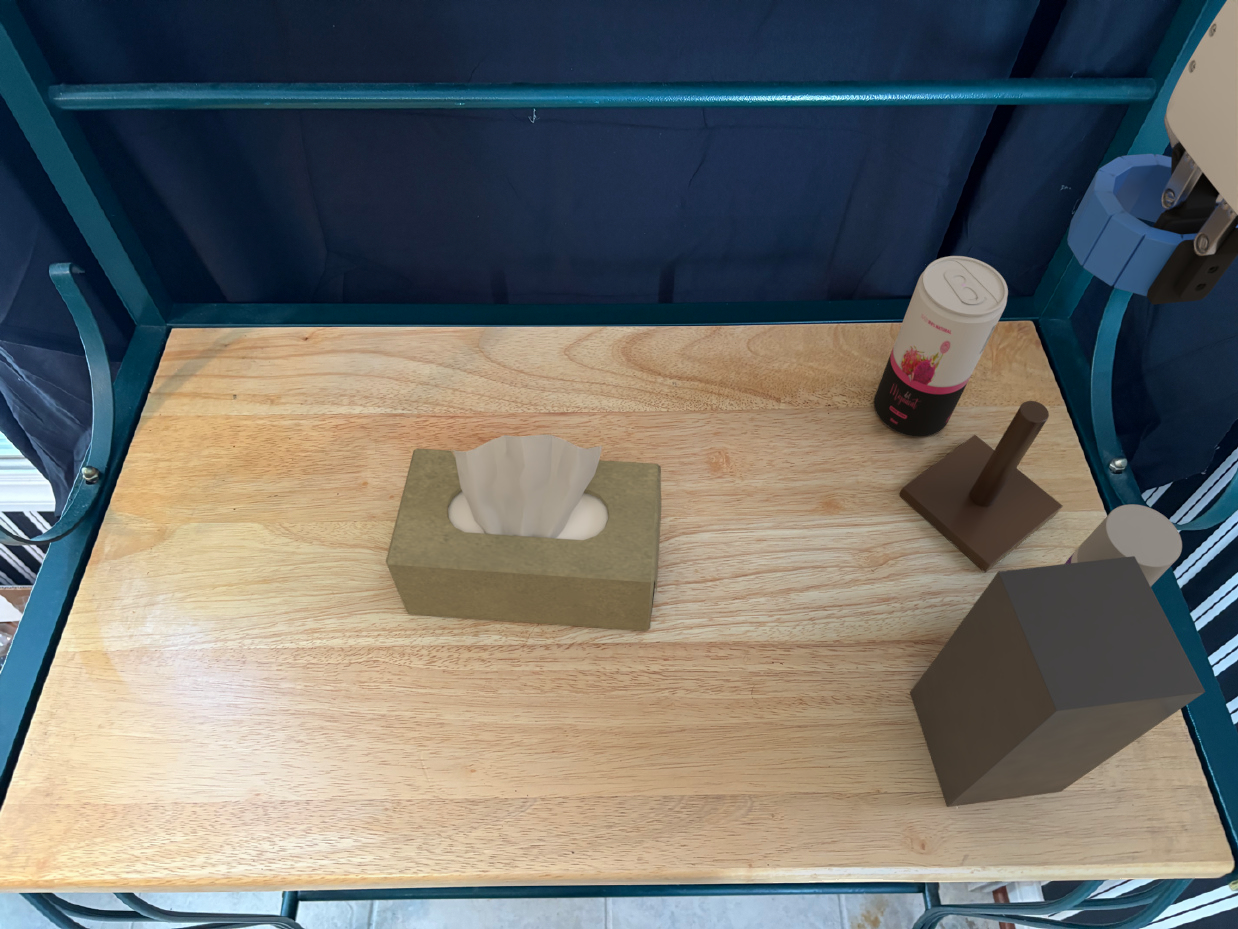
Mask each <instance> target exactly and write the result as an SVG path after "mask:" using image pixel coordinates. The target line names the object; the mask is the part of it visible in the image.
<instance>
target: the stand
mask: <svg viewBox="0 0 1238 929" xmlns="http://www.w3.org/2000/svg"><path fill="white" fill-rule="evenodd" d="M1049 416H1050V414H1049V410H1048V408H1047V407H1046V406H1045V405H1044V404H1042V403H1041V402H1038V401H1036V400H1026V401H1024V402H1022V403H1021V404H1020V407H1018V409H1017V411H1016V413H1015V414H1014V416H1013V418H1012V419H1011V421H1010V423H1009V424H1008V426H1007V428H1006V429H1005V431H1004V433H1003V434H1002V436H1001V438H1000V440H999V442H998V443H997V445H996V446H995V448H993V447H991V446H990V445H989V444H987V443H986V442H985V441H984V440H982V439H981V438H980V437H979V436H978V435H977V434H973V435H972V436H971V437H969V438H968V439H967V440H965V441H964V442H962V443H961V444H960V445H958V446H957V447H955V448H954V449H953V450H951V451H950V452H948V453H947V454H945V456H943V457H942V458H940V459H939V460H937V461H936V462H935V463H933V465H931V466H930V467H928V468H927V469H925V470H924V471H923V472H922V473H920V474H919V475H918V476H915V478H913V479H912V480H911V481H910V482H908V483H906V484H905V485H904V486H902V487H901V490H900V492H899V494H898V496H899V498H901V499H902V500H903V501H904V502H906V504H908V505H909V506H910V507H911V508H912V509H913V510H914V511H916V512H917V513H918V514H919V515H920V516H921V517H922V518H923V519H924V520H925V521H927V522H928V524H930V525H931V526H932V527H933V528H935V530H937V532H939V533H940V534H941V535H942V536H944V537H945V539H947V540H948V541H949V542H950V543H951V544H952V545H953V546H955V547H956V548H957V549H958V550H959V551H960V552H961V553H963V554H964V555H965V556H966V557H967V558H968V559H969V560H970V561H972V563H974V564H975V565H976V566H977V567H978V568H979V569H980V570H981V571H983V573H987V572H988V571H989V570H991V568H993V567H994V566H995V565H997V564H998V563H999V562H1000V561H1001V560H1002V559H1004V558H1005V557H1006V556H1008V555H1009V554H1010V553H1011V552H1012V551H1013V550H1015V549H1016V548H1018V547H1019V546H1020V545H1021V544H1022V543H1023V542H1024V541H1025V540H1027V539H1028V538H1029V537H1030V536H1032V535H1033V534H1034V533H1035V532H1037V531H1038V530H1039V529H1041V527H1043V526H1044V525H1045V524H1047V523H1048V522H1049V521H1050V520H1051V519H1052V518H1054V517H1055V516H1056V515H1058V513H1059V512H1060V510H1061V509H1062V508H1063V504H1062V503H1060V502H1059V501H1057V499H1056V498H1054V497H1053V496H1052V495H1050V494H1049V493H1048V492H1047V491H1045V490H1044V489H1043V488H1042V487H1040V486H1039V485H1038V484H1037V483H1035V482H1034V481H1033V480H1031V478H1029V477H1028V476H1027V475H1025V473H1023V472H1022V471H1021V470H1019V468H1017V467H1018V466H1019V465H1020V463H1021V462H1022V460H1023V458H1024V457H1025V455H1026V454H1027V452H1028V451H1029V449H1030V447H1031V446H1032V444H1033V442H1034V441H1035V439H1036V438H1037V437H1038V435H1039V433H1040V431H1041V430H1042V429H1043V427H1044V425H1045V424H1046V423H1047V421H1048V419H1049V418H1050V417H1049Z"/></svg>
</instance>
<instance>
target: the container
mask: <svg viewBox="0 0 1238 929" xmlns="http://www.w3.org/2000/svg"><path fill="white" fill-rule="evenodd" d="M1182 550H1183V541H1182V537H1181V534H1180V532H1179V531H1178V529H1177V528H1176V526H1175V524H1174V523H1172V521H1171V520H1170V519H1168V518H1167V517H1166V516H1165V515H1164V514H1162V513H1160V512H1159V511H1157V510H1156V509H1153V508H1152V507H1148V506H1145V505H1141V504H1133V503H1132V504H1123V505H1119V506H1116V508H1114V509H1112V510H1111V511H1110V512H1109V513H1108V514H1107V515H1106V517H1104V519H1103V520H1102V521H1101V522H1100V523H1099V524H1098V525H1097V526H1096V528H1095V529H1094V530H1093V531H1092V532H1091V533H1090V534H1089V535H1088V537H1086V538H1085V539H1084V541H1083V542H1082V543H1081V544H1080V545H1079V546H1078V547H1077V548H1076V549H1075V550H1074V552H1073V553H1072V554H1071V555H1070V556H1069V557H1068V559H1067V560H1065V563H1064V564H1069V563H1078V562H1087V561H1096V560H1104V559H1113V558H1122V557H1131V556H1135V558H1136V560H1137V562H1138V564H1139V566H1140V567H1141V569H1142V571H1143V573H1144V575H1145V577H1146V579H1147V581H1148V583H1149V585H1150V587H1151V588H1152V586H1153V585H1154V584H1155V583H1156V582H1157V581H1158V580H1159V579H1160V578H1161V577H1162V576H1163V575H1164V574H1165V572H1167V570H1168V569H1169V568H1170V567H1171V566H1172V565H1173V564H1174V563H1175V562H1176V561H1177V560H1178V559H1179V557H1180V556H1181V554H1182Z"/></svg>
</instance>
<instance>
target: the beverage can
mask: <svg viewBox="0 0 1238 929" xmlns="http://www.w3.org/2000/svg"><path fill="white" fill-rule="evenodd" d="M1008 288H1009V287H1008V285H1007V282H1006V280H1005V279H1004V277H1003V276H1002V275H1001V273H1000V272H999V271H997V269H995V268H994V267H993V266H992V265H990V264H988V263H986V262H984V261H981V260H979V259H976V258H974V257H973V258H972V257H968V256H963V255H950V256H944V257H940V258H938V259H935V260H933V261H932V262H930V263H929V264H928V265H927V267H925V269H924V271H923V272H922V273H921V274H920V276H919V277H918V279H917V283H916V286H915V288H914V290H913V293H912V296H911V299H910V302H909V305H908V306H907V309H906V312H905V315H904V317H903V320H902V322H901V325H900V327H899V330H898V333H897V336H896V339H895V340H894V343H893V347H892V349H891V352H890V355H889V357H888V360H887V363H886V365H885V368H884V371H883V373H882V375H881V377H880V380H879V384H878V386H877V389H876V391H875V393H874V399H873V406H874V410H875V413H876V415H877V417H878V418H879V420H880V421H881V422H882V423H883V424H884V425H885V426H886V427H887V428H890V429H891V430H892V431H894V432H896V433H898V434H901V435H903V436H908V437H914V438H927V437H930V436H933V435H936V434H938V433H939V432H941V431H942V430H943V429H945V428H946V426H947V425H948V423H949V421H950V419H951V417H952V415H953V413H954V411H955V409H956V407H957V405H958V402H959V401H960V399H961V397H962V395H963V393H964V391H965V389H966V387H967V385H968V383H969V381H970V379H971V377H972V375H973V373H974V371H975V369H976V366H978V363H979V362H980V359H981V358H982V355H983V353H984V351H985V349H986V347H987V345H988V343H989V341H990V339H991V337H992V335H993V333H994V330H995V329H996V326H997V325H998V322H999V321H1000V318H1001V317H1002V315H1003V313H1004V311H1005V309H1006V306H1007V302H1008V295H1009V290H1008Z"/></svg>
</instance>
